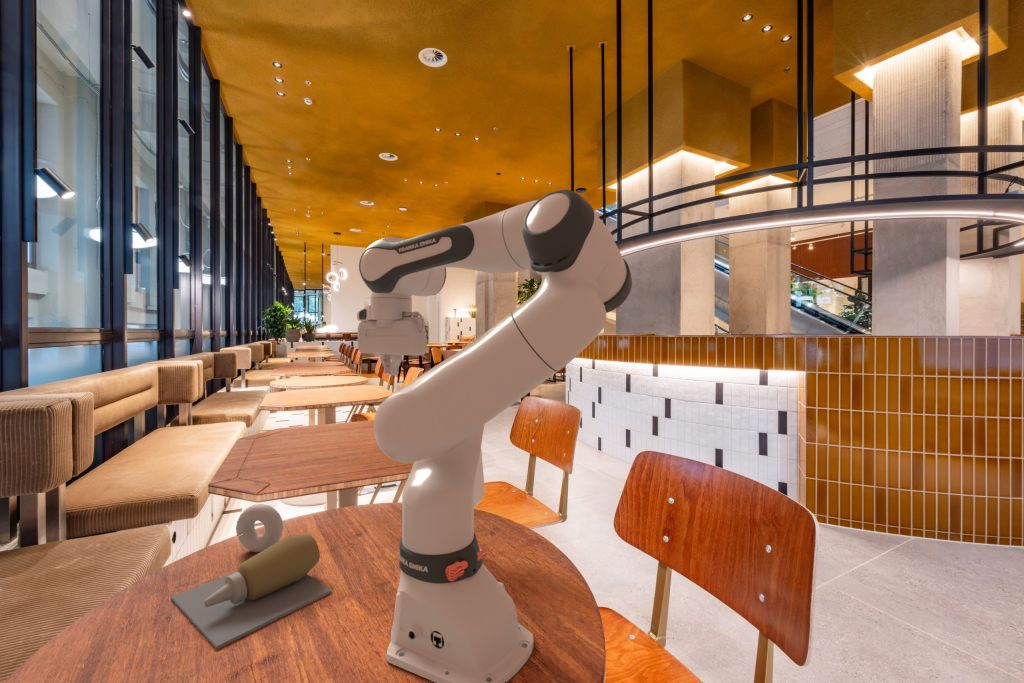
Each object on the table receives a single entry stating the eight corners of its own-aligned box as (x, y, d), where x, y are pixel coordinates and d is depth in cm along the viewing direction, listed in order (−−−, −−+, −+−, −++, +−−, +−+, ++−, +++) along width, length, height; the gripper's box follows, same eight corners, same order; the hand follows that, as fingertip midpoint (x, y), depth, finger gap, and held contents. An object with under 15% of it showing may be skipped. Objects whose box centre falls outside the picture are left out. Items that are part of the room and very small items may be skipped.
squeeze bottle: (329, 562, 82) (222, 623, 67) (311, 574, 86) (206, 633, 71) (312, 522, 83) (204, 572, 69) (295, 535, 88) (190, 585, 73)
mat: (331, 592, 78) (331, 589, 78) (216, 649, 64) (216, 646, 64) (278, 558, 90) (278, 555, 90) (171, 599, 76) (171, 596, 76)
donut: (286, 548, 94) (286, 502, 94) (276, 556, 91) (276, 508, 91) (243, 546, 96) (243, 500, 95) (232, 553, 92) (231, 506, 92)
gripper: (434, 312, 94) (433, 376, 94) (375, 314, 106) (375, 371, 106) (410, 310, 89) (410, 378, 89) (352, 313, 101) (352, 373, 101)
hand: (391, 374), depth 98 cm, fingers closed
